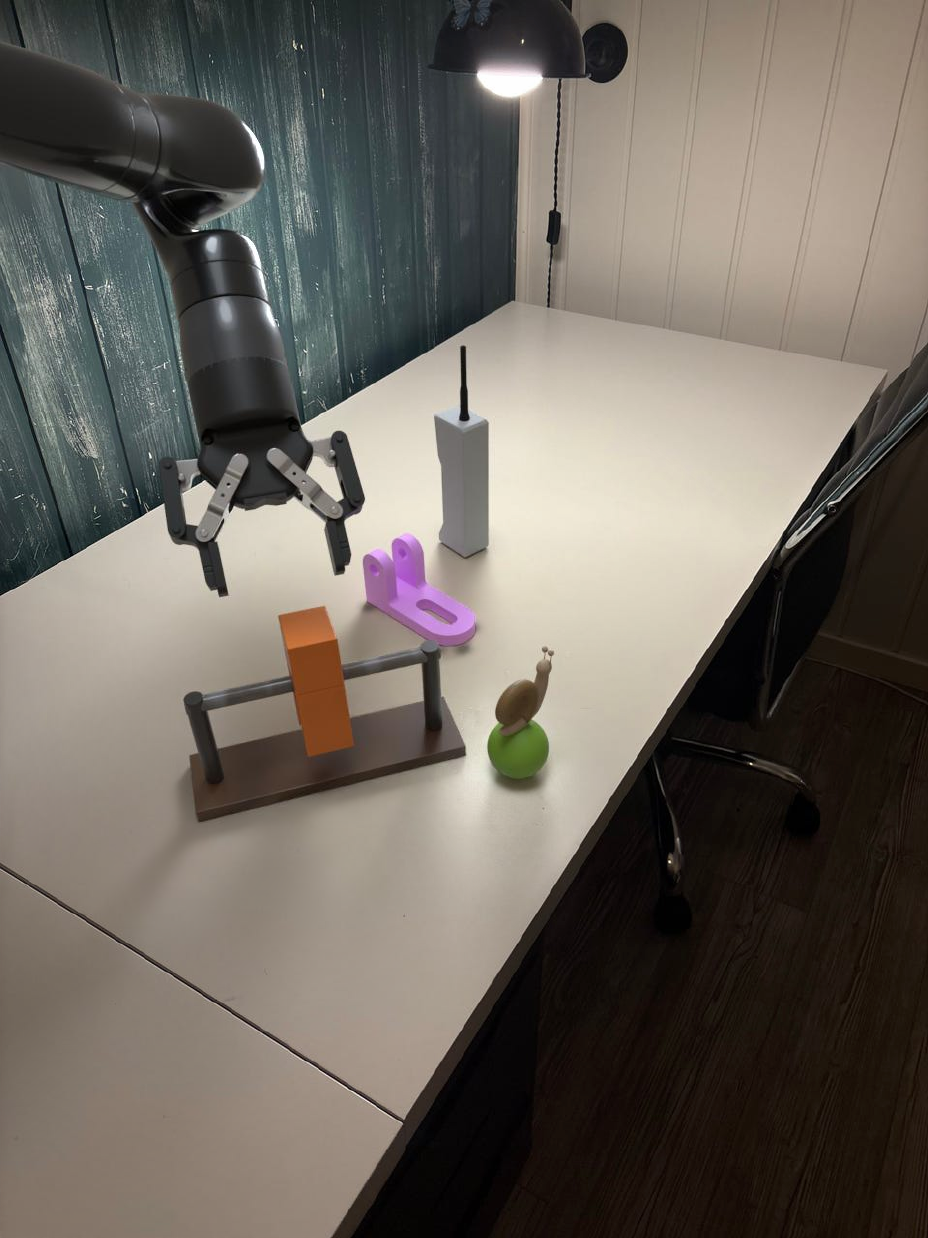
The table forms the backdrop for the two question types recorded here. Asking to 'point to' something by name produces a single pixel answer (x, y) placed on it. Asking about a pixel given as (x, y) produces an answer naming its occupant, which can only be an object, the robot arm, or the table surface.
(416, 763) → the rail stand
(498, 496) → the table surface
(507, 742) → the snail figurine
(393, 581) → the bracket
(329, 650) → the orange lidded gift box
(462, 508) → the vintage mobile phone
